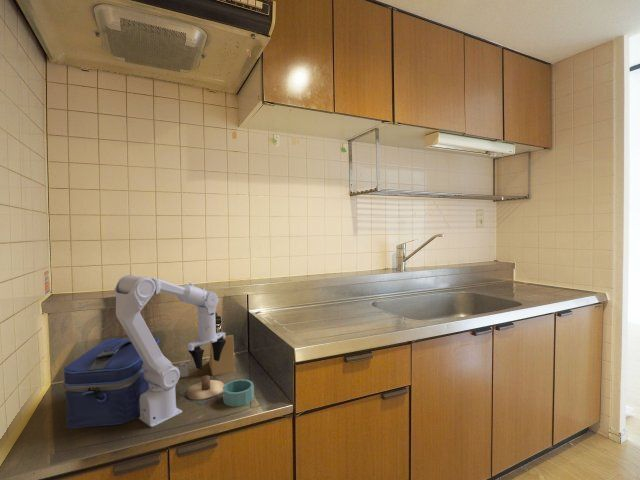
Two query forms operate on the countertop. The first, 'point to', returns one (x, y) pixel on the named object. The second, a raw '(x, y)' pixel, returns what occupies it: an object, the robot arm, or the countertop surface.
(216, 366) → the sandwich container
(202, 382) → the lid
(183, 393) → the mat
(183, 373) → the lighter
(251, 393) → the bowl
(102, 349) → the lunch bag
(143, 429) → the countertop surface
